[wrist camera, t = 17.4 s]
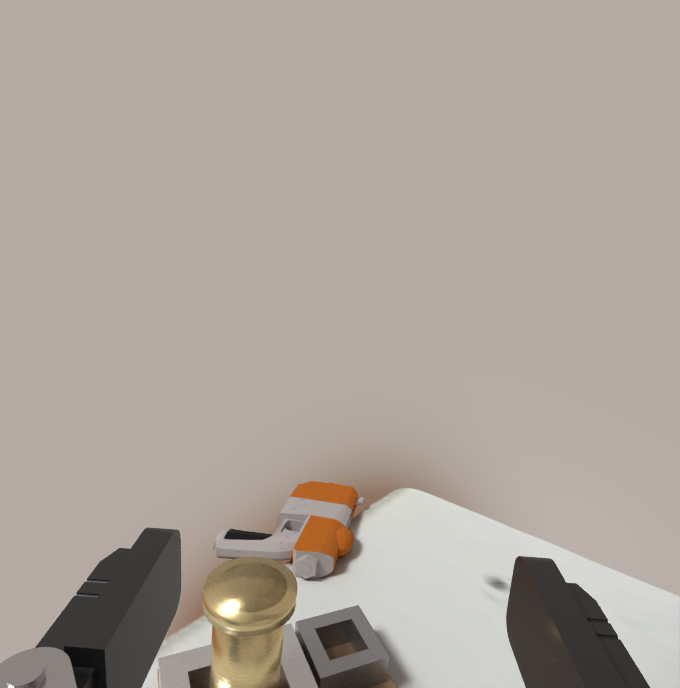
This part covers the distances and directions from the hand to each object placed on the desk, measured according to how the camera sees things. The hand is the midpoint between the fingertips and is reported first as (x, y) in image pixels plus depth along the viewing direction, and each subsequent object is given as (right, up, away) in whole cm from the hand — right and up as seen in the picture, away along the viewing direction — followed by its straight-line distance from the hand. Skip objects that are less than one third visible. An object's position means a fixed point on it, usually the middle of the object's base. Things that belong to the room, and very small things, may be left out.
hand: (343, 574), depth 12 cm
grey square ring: (0, -23, +32) cm, 40 cm away
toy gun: (-5, -18, +53) cm, 56 cm away
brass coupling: (-7, -23, +26) cm, 36 cm away
